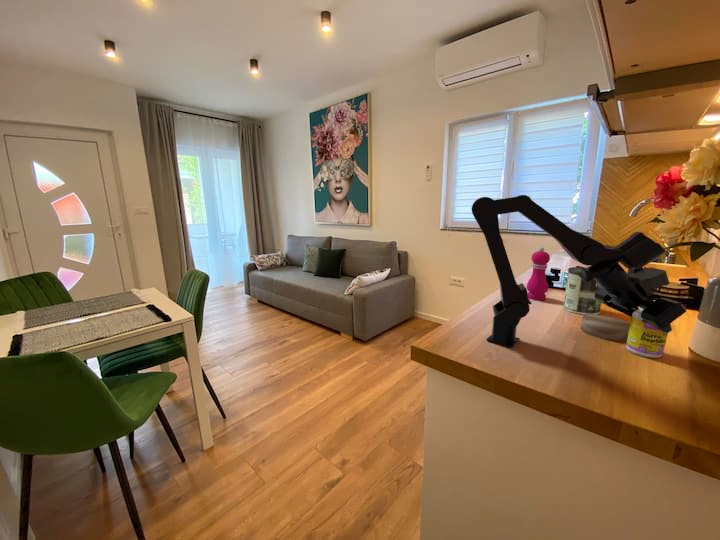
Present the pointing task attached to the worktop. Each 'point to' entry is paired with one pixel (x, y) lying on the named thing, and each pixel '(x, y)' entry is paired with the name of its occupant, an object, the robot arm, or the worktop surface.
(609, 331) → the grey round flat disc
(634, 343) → the supplement bottle
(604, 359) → the worktop surface
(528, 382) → the worktop surface
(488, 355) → the worktop surface
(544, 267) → the pepper mill
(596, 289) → the coffee can
